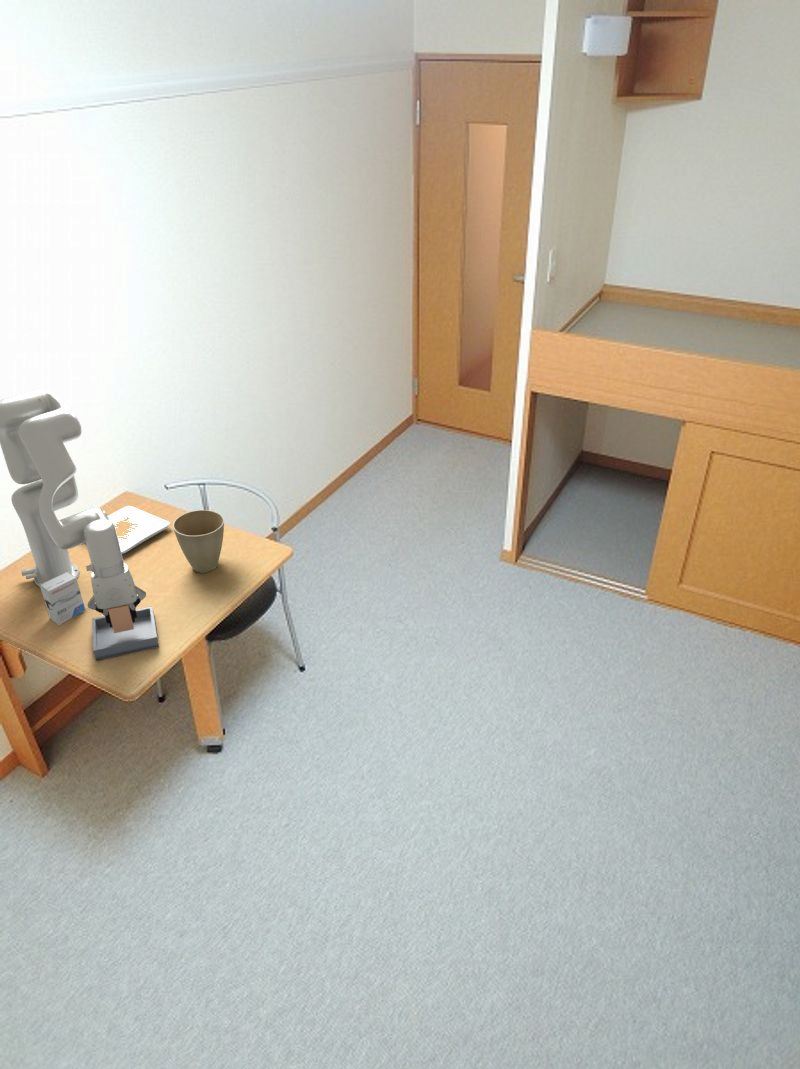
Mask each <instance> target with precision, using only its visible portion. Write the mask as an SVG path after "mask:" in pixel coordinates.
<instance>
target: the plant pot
mask: <svg viewBox="0 0 800 1069" xmlns="http://www.w3.org/2000/svg"><path fill="white" fill-rule="evenodd" d="M172 528H173V531H174V534H175V537H176V540H177V542H178V545H179V546H180V549H181V550H182V553H183V554H184V556H185V559H186V560H187V561H188V563H189V565H190V566H191V567H192V570H194V571H195V572H198V573H208V572H209V573H210V572H212V571H213V570H215V569H216V568H217V566H218V564H219V560H220V556H221V553H222V552H221V551H222V547H223V543H224V542H223V541H224V534H225V533H224V530H225V518H224V516H223V515H222V514H221V513H219V512H217V511H214V510H209V509H197V510H192V511H191V510H190V511H187V512H185V513H183V514H181V515H179V516H178V517H177V518H175V519H174V522H173V523H172Z"/></svg>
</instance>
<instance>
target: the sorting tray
mask: <svg viewBox="0 0 800 1069" xmlns="http://www.w3.org/2000/svg"><path fill="white" fill-rule="evenodd" d="M136 613H137V617H136V618H135V622H134V623H133V625H134V629H132V630H128V631H123V632H118V633H114V630H113V627H110V624H109V623H107V622H106V618H105V616H104V615H102V616H97V617H92V618H91V625H92V626H91V628H92V630H91V632H92V652H93V656H94V658H95V661H102V660H106V659H111V658H115V657H118V656H119V657H121V656H125V655H130V654H134V653H139V652H143V651H147V650H152V649H157V648H160V645H159V644H160V643H159V639H158V638H159V637H158V631H157V624H156V616H155V612H154V606H152V605H151V606H148V607H142V608H136Z"/></svg>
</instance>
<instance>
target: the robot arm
mask: <svg viewBox="0 0 800 1069" xmlns="http://www.w3.org/2000/svg"><path fill="white" fill-rule="evenodd" d="M81 434H82V426H81V424H80V421H79V418H78V417H77V415H76V414H75V413H74V411H72V409H71V407H69V406H68V405H67V404H66V403H65V402H64V401H63V400H62V399H61V398H59V397H58V396H57V395H56V394H55V393H54V392H53V391H51V390H50V389H45V388H41V389H40V388H39V389H35V390H33V391H28V392H25V393H21V394H18V395H17V394H16V395H14V396H10V397H6V398H2V399H0V448H1V450H2V451H1V452H2V454H3V457H4V462H5V463H6V467H7V470H8V473H9V476H10V477H11V479H12V481H14V482H15V483H17V484H18V485H23V486H21V487H19V488H17V489H16V490H15V491H14V492H13V493H12V494H11V503H12V506H13V509H14V510H15V513H16V514H17V516H18V518H19V521H20V522H21V525H22V527H23V530H24V532H25V536H26V539H27V542H28V545H29V549H30V551H31V554H32V558H33V561H34V564H35V566H32V568H26V569H21V576H22V577H25V579H26V580H30V579H33V580H34V583H35V585H36V586H37V587H39V588H40V585H41V584H43V583H45V582H47V581H49V580H51V579H53V578H56V577H58V576H60V575H62V574H64V573H66V572H68V573H70V574H71V575H73V576H74V577H76V579H77V580H78V577H79V575H80V569H79V568H80V567H79V566H78V565H76V564H75V563H72V562H71V561H72V560H71V557H70V553H69V551H68V550H69V549H73V548H76V547H78V546H80V545H83V544H85V546H86V548H87V552H88V556H89V560H90V564H89V565H85V567H86V571H87V572H89V571H90V572H91V574H90V576H91V579H90V580H91V587H92V591H93V592H92V593H93V595H92V596H91V598H90V599H89V601H88V602H87V609H91V610H94V611H96V612H98V613H100V614H102V616H105V618H106V622H107V623H109V624H110V627H113V626H112V623H111V619H110V615H109V611H108V608H112V607H117V606H122V605H127V604H128V605H129V607H130V614H131V618H132V622H133V623H134V622H135V618H136V617H137V613H136V609H137V607H138V606H139V605H140V603H141V601H143V600H144V599H145V598H146V597H147V592H146V591H144V590H143V589H141V588H140V587H138V586H136V584H135V581H134V578H133V575H132V573H131V570H130V568H129V567H128V565H127V564H126V563H125V562H124V559H123V557H124V556H123V553H121V549H120V545H119V540H118V536H117V532H116V528H115V526H114V524H113V523H112V522H110V521H109V519H108V514H107V512H106V511H105V510H103V509H101V508H100V507H91V508H88V509H85V510H83V511H80V512H77V513H76V514H75V513H74V514H72V515H70V516H66V517H64V518H62V519H58V518H57V516H56V513H55V512H56V511H59V510H61V509H64V508H67V507H69V506H71V505H73V504H75V503H76V502H78V499H79V489H78V485H77V482H76V478H75V475H76V472H77V467H76V464H75V463H74V462H73V459H72V457H71V456H70V453H69V452H68V449H67V448H66V446H65V443H68V442H71V441H73V440H77V439H79V438H80V437H81Z"/></svg>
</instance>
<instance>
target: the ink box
mask: <svg viewBox="0 0 800 1069" xmlns="http://www.w3.org/2000/svg"><path fill="white" fill-rule="evenodd" d="M39 588H40V591H41V594H42V597H43V601H44V603H45V607H46V609H47V612H48V616H49V619H51V620H52V621H53V622H54V623H56V624H57V625H61V624H63V623H65V622H67V621H68V620H71V619H72V618H74V617H76V616H78V615H79V614H82V613H83V612H85V611H86V607H85V604H84V600H83V596H82V593H81V589H80V586H79V582H78V578H77V579H76V577H74V576H73V575H71V574H70V573H68V572H66V573H64V574H62V575H60V576H58V577H56V578H53V579H51V580H49V581H47V582H45V583H43V584H41V585H40V587H39Z"/></svg>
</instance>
